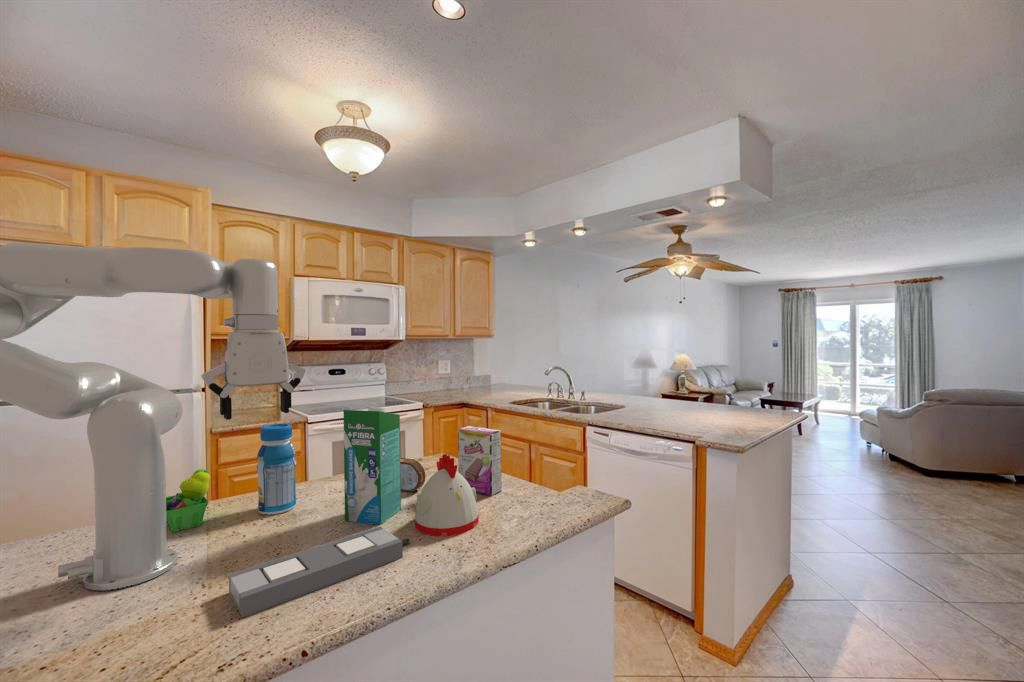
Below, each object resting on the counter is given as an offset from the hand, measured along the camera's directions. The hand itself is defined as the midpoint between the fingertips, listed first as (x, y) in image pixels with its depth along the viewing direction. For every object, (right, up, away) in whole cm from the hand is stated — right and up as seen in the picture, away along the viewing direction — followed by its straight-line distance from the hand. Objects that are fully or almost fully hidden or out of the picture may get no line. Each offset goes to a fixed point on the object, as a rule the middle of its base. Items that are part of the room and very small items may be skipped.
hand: (257, 415), depth 84 cm
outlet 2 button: (+20, -25, -4) cm, 32 cm away
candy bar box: (+40, -26, +34) cm, 58 cm away
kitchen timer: (+34, -26, +14) cm, 45 cm away
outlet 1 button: (+11, -25, -12) cm, 30 cm away
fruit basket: (-25, -27, +15) cm, 39 cm away
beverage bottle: (-8, -27, +22) cm, 36 cm away
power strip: (+17, -26, -6) cm, 32 cm away
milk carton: (+17, -26, +18) cm, 36 cm away
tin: (+18, -26, +35) cm, 48 cm away
